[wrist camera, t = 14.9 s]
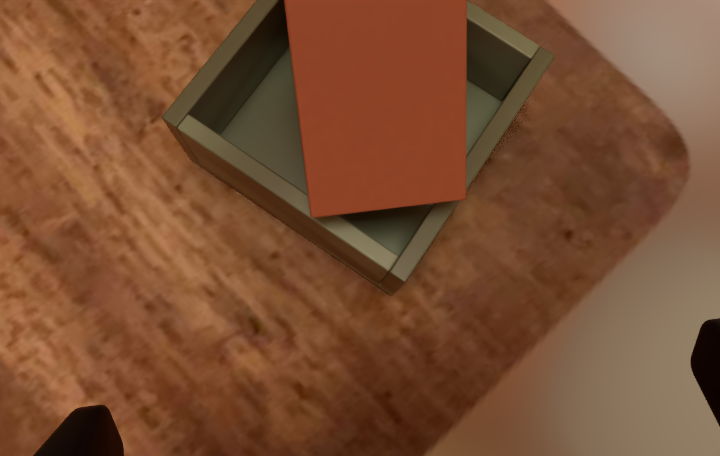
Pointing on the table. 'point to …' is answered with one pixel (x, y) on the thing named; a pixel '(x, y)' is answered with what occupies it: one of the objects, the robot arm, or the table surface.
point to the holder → (283, 140)
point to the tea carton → (380, 101)
